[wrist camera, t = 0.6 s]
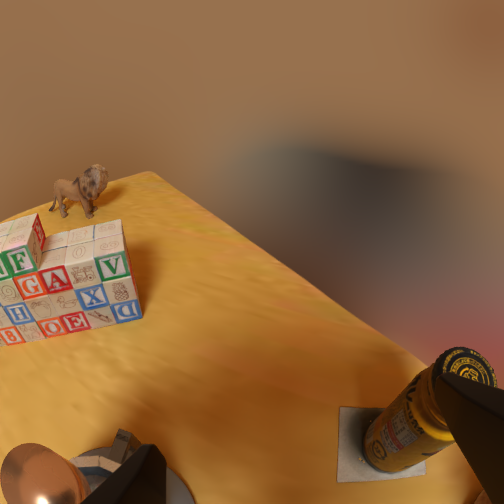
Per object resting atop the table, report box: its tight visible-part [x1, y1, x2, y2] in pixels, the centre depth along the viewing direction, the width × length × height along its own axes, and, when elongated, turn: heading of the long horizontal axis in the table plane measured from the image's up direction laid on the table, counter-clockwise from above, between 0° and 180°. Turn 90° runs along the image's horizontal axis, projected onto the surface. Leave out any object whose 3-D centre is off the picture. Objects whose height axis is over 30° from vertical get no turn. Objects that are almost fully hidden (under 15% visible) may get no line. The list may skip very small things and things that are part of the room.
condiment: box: [337, 347, 497, 482], centre depth 17 cm, size 7×8×12 cm
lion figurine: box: [49, 164, 108, 219], centre depth 46 cm, size 15×5×9 cm, turn 92°
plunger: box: [0, 443, 107, 504], centre depth 9 cm, size 5×5×8 cm
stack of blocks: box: [0, 213, 143, 346], centre depth 26 cm, size 21×6×12 cm, turn 113°
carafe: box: [69, 429, 142, 478], centre depth 14 cm, size 10×8×5 cm
